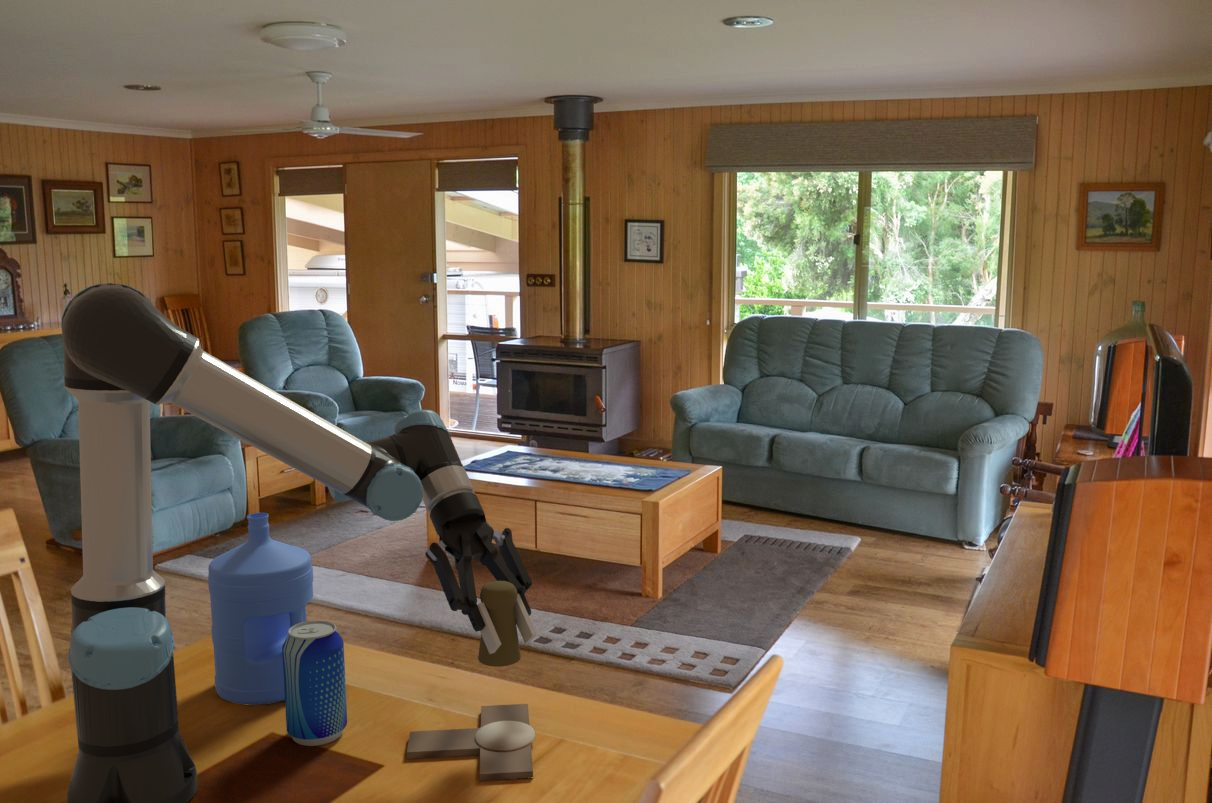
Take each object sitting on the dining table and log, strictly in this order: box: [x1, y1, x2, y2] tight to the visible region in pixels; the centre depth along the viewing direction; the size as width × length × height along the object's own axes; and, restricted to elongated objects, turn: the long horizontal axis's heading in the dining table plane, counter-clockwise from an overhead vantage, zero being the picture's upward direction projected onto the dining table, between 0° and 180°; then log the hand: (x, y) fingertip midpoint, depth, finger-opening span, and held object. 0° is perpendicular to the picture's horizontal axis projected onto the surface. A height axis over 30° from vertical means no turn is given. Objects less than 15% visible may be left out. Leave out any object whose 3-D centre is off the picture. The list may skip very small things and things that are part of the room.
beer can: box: [282, 619, 348, 747], centre depth 149 cm, size 8×8×16 cm
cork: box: [477, 580, 522, 668], centre depth 147 cm, size 6×6×11 cm
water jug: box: [207, 512, 314, 706], centre depth 164 cm, size 16×16×28 cm
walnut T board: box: [406, 703, 536, 782], centre depth 147 cm, size 18×20×1 cm
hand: (513, 643), depth 144 cm, fingers closed on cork, 5 cm apart
